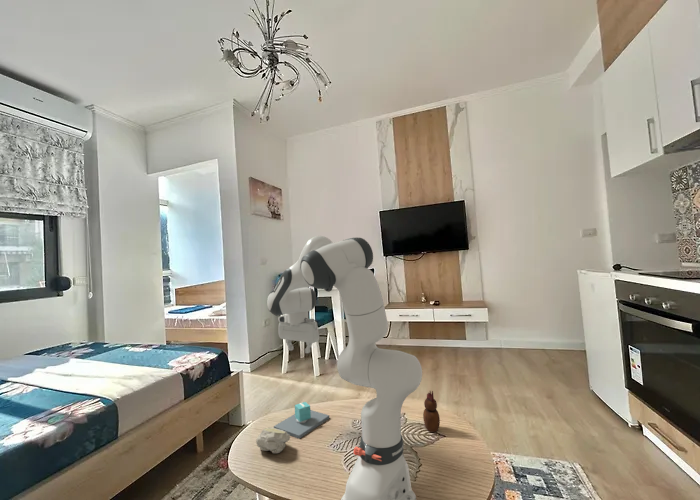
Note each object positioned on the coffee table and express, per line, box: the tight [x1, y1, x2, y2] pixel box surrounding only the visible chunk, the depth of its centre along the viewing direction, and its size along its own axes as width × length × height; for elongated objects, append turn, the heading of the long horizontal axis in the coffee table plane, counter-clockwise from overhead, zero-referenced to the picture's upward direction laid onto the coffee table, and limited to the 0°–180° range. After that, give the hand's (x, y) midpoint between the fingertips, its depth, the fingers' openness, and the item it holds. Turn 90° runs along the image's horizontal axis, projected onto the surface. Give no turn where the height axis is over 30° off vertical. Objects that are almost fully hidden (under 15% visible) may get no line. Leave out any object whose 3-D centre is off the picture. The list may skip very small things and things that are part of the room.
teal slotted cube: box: [294, 401, 311, 422], centre depth 131 cm, size 5×5×5 cm
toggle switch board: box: [273, 409, 330, 440], centre depth 130 cm, size 18×14×6 cm
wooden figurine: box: [422, 390, 441, 433], centre depth 121 cm, size 7×6×15 cm
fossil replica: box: [255, 427, 291, 454], centre depth 112 cm, size 12×8×10 cm
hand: (299, 351), depth 131 cm, fingers open, 8 cm apart
